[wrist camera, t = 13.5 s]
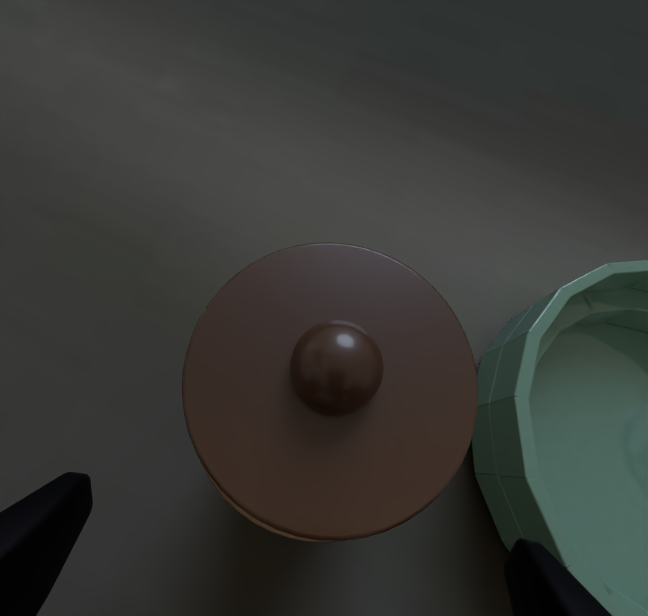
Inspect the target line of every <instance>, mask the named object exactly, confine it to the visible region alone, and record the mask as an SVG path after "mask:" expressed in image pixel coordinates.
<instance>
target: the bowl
mask: <svg viewBox="0 0 648 616" xmlns="http://www.w3.org/2000/svg"><path fill="white" fill-rule="evenodd" d="M477 382H478V409H477V416H476V423H475V428H474V431H473V435H472V449H473V460H474V471H475V476H476V479H477V481H478V484H479V486H480V489H481V491H482V493H483V496H484V498H485V501H486V503H487V506H488V508H489V510H490V513H491V515H492V518H493V520H494V523H495V525H496V528H497V530H498V532H499V535H500V537H501V540H502V542H503V543H504V544H505V546H506V547H507V549H508V550H509V551H511V549H512V547H513V545H514V544H515V542H516V540H517V539H519V538H525V539H532V540H536V541H539V542H540V543H542V544H543V545H544V546H545V547H546V548H547V549H548V550H549V551H550V552H551V553H552V554H553V555H554V556H555V557H556V558H557V559H558V560H559V561H560V562H561V564H562V565H563V566H564V567H565V568H566V569H567V570H568V571H569V572H570V573H571V574H572V575H573V576H574V577H575V578H576V579H577V580H578V581H579V582H580V583H581V584H582V585H583V586H584V587H585V588H586V589H587V590H588V591H589V592H590V593H591V594H592V595H593V596H594V597H595V598H596V599H597V600H598V601H599V602H600V603H601V604H602V606H603V607H604V608H605V609H606V610H607V611H608V612H609V613H610V614H611V615H612V616H648V260H642V261H630V262H617V263H607V264H604V265H602V266H600V267H598V268H596V269H594V270H593V271H591V272H589V273H587V274H585V275H583V276H581V277H579V278H577V279H575V280H573V281H572V282H570V283H568V284H566V285H564V286H562V287H560V288H559V289H557V290H555V291H554V292H552V293H551V294H549V295H548V296H546V297H544V298H543V299H541V300H540V301H538V302H536V303H535V304H533V305H532V306H530V307H529V308H527V309H525V310H524V311H522V312H521V313H519V314H517V315H516V316H514V317H513V318H512V319H510V321H509V322H508V323H507V325H506V326H505V327H504V328H503V330H502V331H501V332H500V334H499V335H498V336H497V338H496V339H495V340H494V341H493V343H492V344H491V345H490V347H489V348H488V349H487V351H486V352H485V353H484V355H483V356H482V359H481V363H480V366H479V370H478V374H477Z"/></svg>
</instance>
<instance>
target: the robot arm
mask: <svg viewBox="0 0 648 616" xmlns="http://www.w3.org/2000/svg"><path fill="white" fill-rule="evenodd" d="M92 504H93V500H92V491H91V482H90V477H89V476H88V475H87V474H82V473H75V472H67V473H65V474H63V475H61V476H59V477H58V478H56V479H54V480H53V481H51V482H49V483H48V484H46V485H44V486H43V487H41V488H40V489H38V490H36V491H35V492H33V493H31V494H30V495H28V496H26V497H25V498H23V499H22V500H20V501H18V502H17V503H15V504H13V505H12V506H10V507H8V508H7V509H5V510H3V511H2V512H0V616H36V615H37V613H38V612H39V610H40V608H41V607H42V605H43V603H44V602H45V600H46V598H47V597H48V595H49V593H50V591H51V589H52V587H53V585H54V583H55V582H56V580H57V578H58V576H59V574H60V572H61V570H62V568H63V566H64V564H65V562H66V560H67V558H68V556H69V554H70V552H71V550H72V548H73V546H74V544H75V542H76V540H77V538H78V536H79V534H80V533H81V531H82V529H83V527H84V525H85V523H86V521H87V519H88V517H89V515H90V512H91V509H92ZM504 575H505V580H506V584H507V589H508V593H509V598H510V602H511V607H512V611H513V616H612V615H611V614H610V613H609V612H608V611H607V610H606V609H605V608H604V607H603V606H602V604H601V603H600V602H599V601H598V600H597V599H596V598H595V597H594V596H593V595H592V594H591V593H590V592H589V591H588V590H587V589H586V588H585V587H584V586H583V585H582V584H581V583H580V582H579V581H578V580H577V579H576V578H575V577H574V576H573V575H572V574H571V573H570V572H569V571H568V570H567V569H566V568H565V567H564V566H563V565H562V564H561V562H560V561H559V560H558V559H557V558H556V557H555V556H554V555H553V554H552V553H551V552H550V551H549V550H548V549H547V548H546V547H545V546H544V545H543V544H542V543H540V542H539V541H536V540H532V539H525V538H519V539H517V540H516V542H515V544H514V545H513V547H512V549H511V551H510V553H509V555H508V557H507V559H506V561H505V565H504Z"/></svg>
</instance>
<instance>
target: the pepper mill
mask: <svg viewBox="0 0 648 616" xmlns="http://www.w3.org/2000/svg"><path fill="white" fill-rule="evenodd" d="M182 398H183V408H184V415H185V420H186V424H187V428H188V432H189V435H190V438H191V440H192V443H193V446H194V448H195V451H196V453H197V455H198V457H199V459H200V461H201V464H202V466H203V468H204V470H205V471H206V473H207V475H208V477H209V478H210V480H211V482H212V483H213V485H214V486H215V487H216V489H217V490H218V491H219V492H220V494H221V495H222V496H223V498H224V499H225V500H226V501H227V502H228V503H230V504H231V505H232V506H233V507H234V508H235V509H236V510H237V511H238V512H239V513H241V514H242V515H243V516H245V517H246V518H248V519H249V520H250V521H252V522H253V523H255V524H257V525H259V526H261V527H263V528H264V529H266V530H268V531H270V532H273V533H276V534H279V535H282V536H285V537H288V538H291V539H297V540H303V541H308V542H334V541H345V540H353V539H360V538H366V537H369V536H372V535H376V534H379V533H383V532H386V531H388V530H390V529H392V528H394V527H396V526H399V525H401V524H403V523H405V522H406V521H408V520H409V519H411V518H412V517H414V516H415V515H417V514H418V513H420V512H421V511H423V510H424V509H425V508H426V507H427V506H428V505H429V504H430V503H432V502H433V501H434V500H435V499H436V498H437V497H438V496H439V495H440V494H441V492H442V491H443V490H444V489H445V488H446V486H447V485H448V484H449V483H450V482H451V480H452V479H453V477H454V475H455V474H456V472H457V470H458V469H459V467H460V465H461V464H462V462H463V459H464V457H465V455H466V452H467V450H468V448H469V445H470V442H471V439H472V435H473V431H474V428H475V423H476V416H477V409H478V382H477V373H476V367H475V363H474V358H473V354H472V350H471V348H470V345H469V342H468V340H467V337H466V334H465V332H464V330H463V328H462V326H461V324H460V322H459V321H458V319H457V317H456V315H455V314H454V312H453V311H452V309H451V308H450V306H449V305H448V304H447V302H446V301H445V300H444V299H443V297H442V296H441V295H440V294H439V293H438V292H437V290H436V289H435V288H434V287H432V286H431V285H430V284H429V283H428V282H427V281H426V280H425V279H424V278H423V277H421V276H420V275H419V274H417V273H416V272H415V271H413V270H412V269H411V268H409V267H408V266H406V265H404V264H402V263H401V262H399V261H397V260H395V259H394V258H391V257H389V256H387V255H384V254H382V253H380V252H377V251H374V250H371V249H367V248H364V247H360V246H355V245H350V244H341V243H311V244H305V245H298V246H294V247H290V248H286V249H283V250H279V251H277V252H275V253H272V254H270V255H267V256H265V257H263V258H261V259H259V260H257V261H256V262H254V263H252V264H250V265H249V266H247V267H246V268H244V269H243V270H242V271H240V272H239V273H238V274H236V275H235V276H234V277H233V278H232V279H231V280H229V281H228V282H227V283H226V284H225V285H224V286H223V287H222V288H221V289H220V290H219V292H218V293H217V294H216V295H215V297H214V298H213V299H212V300H211V301H210V303H209V304H208V306H207V307H206V309H205V311H204V312H203V314H202V315H201V317H200V319H199V321H198V323H197V325H196V327H195V329H194V332H193V334H192V336H191V339H190V343H189V346H188V349H187V352H186V357H185V363H184V369H183V380H182Z"/></svg>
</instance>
